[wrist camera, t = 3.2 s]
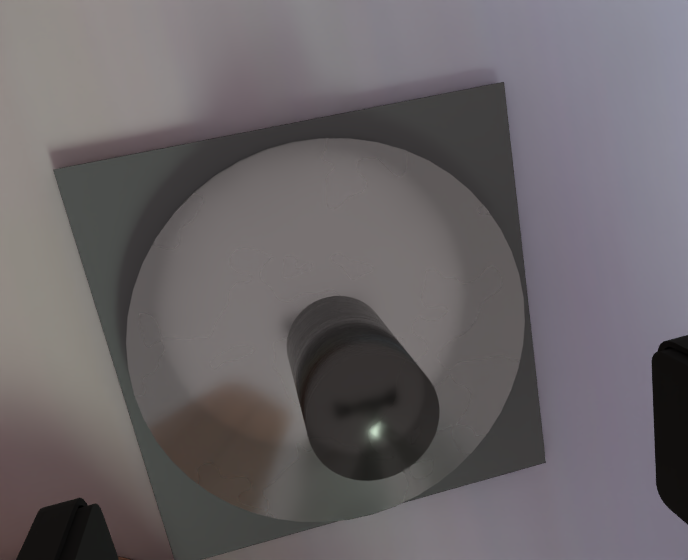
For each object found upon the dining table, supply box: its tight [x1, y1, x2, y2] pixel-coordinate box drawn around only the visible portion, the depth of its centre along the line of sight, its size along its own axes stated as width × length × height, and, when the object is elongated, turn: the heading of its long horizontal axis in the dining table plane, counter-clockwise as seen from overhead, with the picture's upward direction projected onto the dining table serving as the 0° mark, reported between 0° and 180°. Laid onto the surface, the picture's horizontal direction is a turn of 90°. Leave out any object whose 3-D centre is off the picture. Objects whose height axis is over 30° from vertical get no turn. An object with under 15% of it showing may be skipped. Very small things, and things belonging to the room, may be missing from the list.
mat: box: [53, 82, 546, 560], centre depth 19 cm, size 13×13×1 cm
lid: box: [126, 138, 525, 522], centre depth 16 cm, size 12×12×6 cm
